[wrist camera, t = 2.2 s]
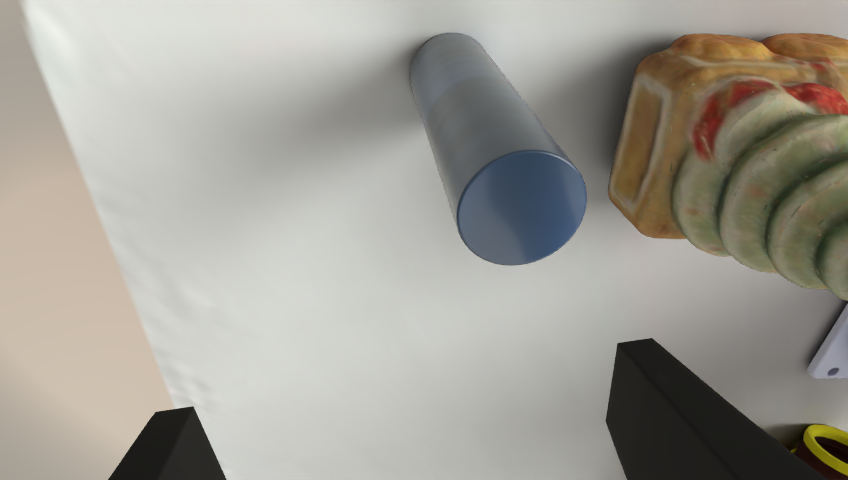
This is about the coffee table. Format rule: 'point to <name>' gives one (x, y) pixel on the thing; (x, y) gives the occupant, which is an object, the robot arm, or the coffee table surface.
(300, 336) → the coffee table surface
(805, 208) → the ornament
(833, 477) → the opera glasses
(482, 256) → the peg
